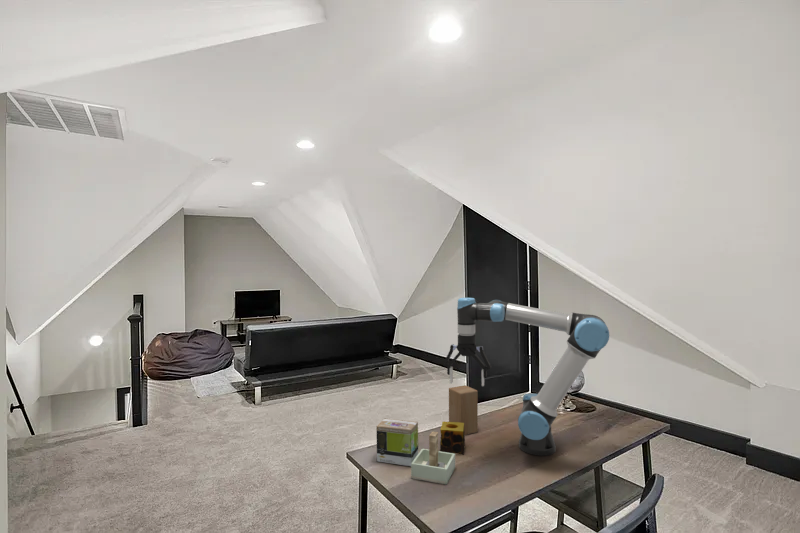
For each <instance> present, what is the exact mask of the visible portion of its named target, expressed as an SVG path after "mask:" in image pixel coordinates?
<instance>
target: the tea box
mask: <svg viewBox="0 0 800 533" xmlns="http://www.w3.org/2000/svg"><path fill="white" fill-rule="evenodd" d="M375 430H376V461H377V462H380V463H386V464H394V465H399V466H406V467H411V463H412V462H413V460H414V459H415V458H416V456H417V455H418V454H419V422H418V421H413V420H406V419H405V420H404V419H395V418H384V419H382V420H381V421H380V422H379V423H378V424H377V425H376V429H375Z"/></svg>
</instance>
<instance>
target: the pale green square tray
mask: <svg viewBox="0 0 800 533" xmlns="http://www.w3.org/2000/svg"><path fill="white" fill-rule="evenodd" d="M455 469H456V454H454V453H447V452H441V451H440V450H438V467H435V466H429V449H427V448H421V449H420V451H418V455H417V456H416V458H415V459H414V460H413V462H412V463H411V466H410V475H411V476H410V478H411V479H412V480H418V481H419V480H420V481H425V482H429V483H435V484H440V485H448V483H449V481H450V478H452V477H451V476H452V475H453V473H454V471H455Z"/></svg>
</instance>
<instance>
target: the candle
mask: <svg viewBox="0 0 800 533" xmlns="http://www.w3.org/2000/svg"><path fill="white" fill-rule="evenodd" d="M441 422H442V423H441V427H440V428H439V429H440V442H439V443H440V445H439V449H440V450H439V451H441V452H447V453H454V454H455V455H456V454H457V455H465V449H466V448H465V446H466V444H465V443H466V442H465V441H466V435H464V423H459V422H449V421H441Z"/></svg>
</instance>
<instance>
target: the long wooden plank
mask: <svg viewBox="0 0 800 533" xmlns="http://www.w3.org/2000/svg"><path fill="white" fill-rule="evenodd" d="M428 436H429V437H428V439H429V440H428V445H429V446H428V448H429V449H428V450H429V466H435V467H438V451H439V432H438V431H431V433H430V434H429V435H428Z"/></svg>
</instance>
